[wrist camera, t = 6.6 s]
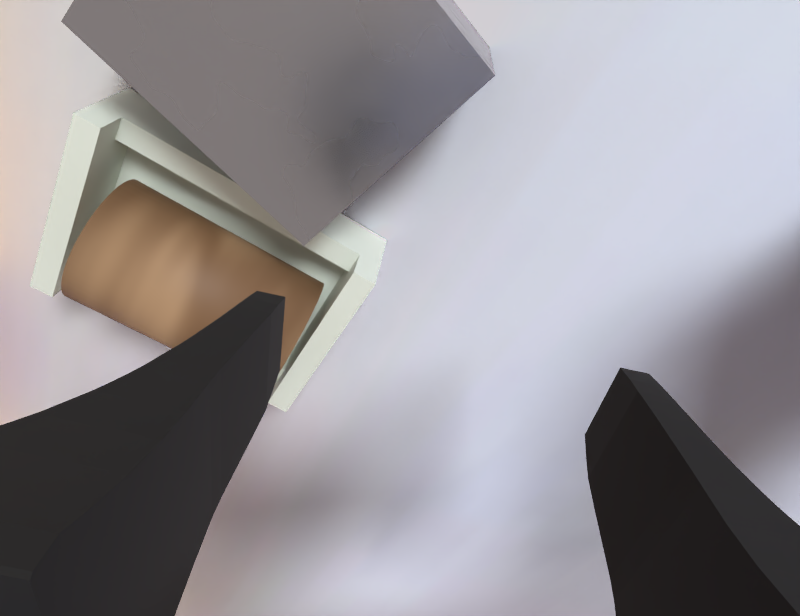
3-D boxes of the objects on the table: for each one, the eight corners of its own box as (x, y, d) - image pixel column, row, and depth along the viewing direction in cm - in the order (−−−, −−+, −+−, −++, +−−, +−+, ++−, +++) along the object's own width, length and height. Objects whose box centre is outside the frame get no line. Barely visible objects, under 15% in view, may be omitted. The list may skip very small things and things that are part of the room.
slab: (489, 45, 17) (495, 75, 13) (334, 189, 20) (304, 245, 16) (292, -207, 14) (231, -259, 11) (148, 3, 17) (61, 21, 14)
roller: (334, 261, 20) (302, 337, 17) (287, 337, 23) (250, 417, 19) (153, 159, 19) (76, 218, 15) (123, 251, 21) (50, 321, 18)
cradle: (386, 240, 21) (375, 284, 18) (305, 360, 24) (285, 412, 22) (129, 88, 19) (73, 112, 16) (82, 244, 22) (29, 286, 19)
